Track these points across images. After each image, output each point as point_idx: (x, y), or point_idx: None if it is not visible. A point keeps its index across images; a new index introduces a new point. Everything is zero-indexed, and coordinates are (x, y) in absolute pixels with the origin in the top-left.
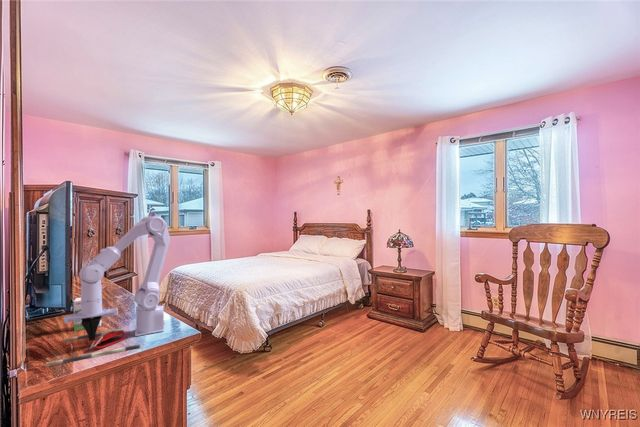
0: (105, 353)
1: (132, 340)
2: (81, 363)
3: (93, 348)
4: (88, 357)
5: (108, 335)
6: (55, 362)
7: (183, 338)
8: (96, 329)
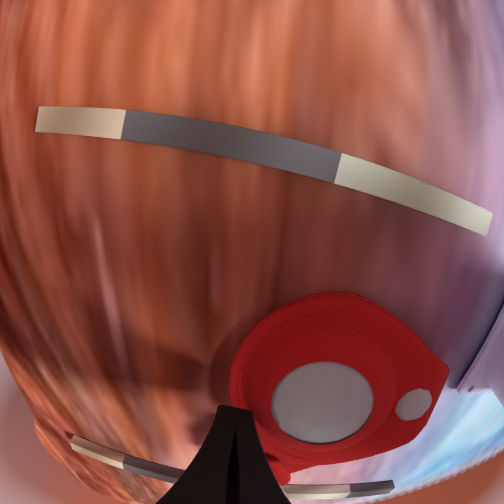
0: None
1: None
2: None
3: None
4: None
5: (334, 449)
6: (102, 460)
7: (488, 459)
8: (263, 467)
